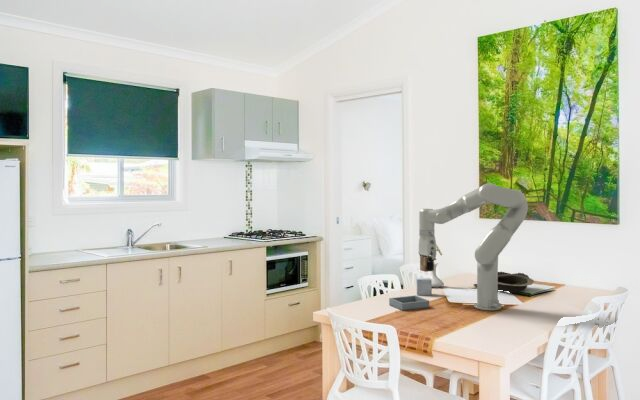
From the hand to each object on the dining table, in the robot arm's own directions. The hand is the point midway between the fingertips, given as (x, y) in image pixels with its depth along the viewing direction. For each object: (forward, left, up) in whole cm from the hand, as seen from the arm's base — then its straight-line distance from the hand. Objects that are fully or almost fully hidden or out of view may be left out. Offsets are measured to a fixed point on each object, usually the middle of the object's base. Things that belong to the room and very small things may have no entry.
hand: (426, 268), depth 269 cm
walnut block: (0, 0, -1) cm, 1 cm away
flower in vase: (+34, -26, -18) cm, 46 cm away
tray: (-3, +12, -18) cm, 22 cm away
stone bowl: (+5, -57, -18) cm, 60 cm away
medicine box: (+17, -9, -18) cm, 26 cm away
